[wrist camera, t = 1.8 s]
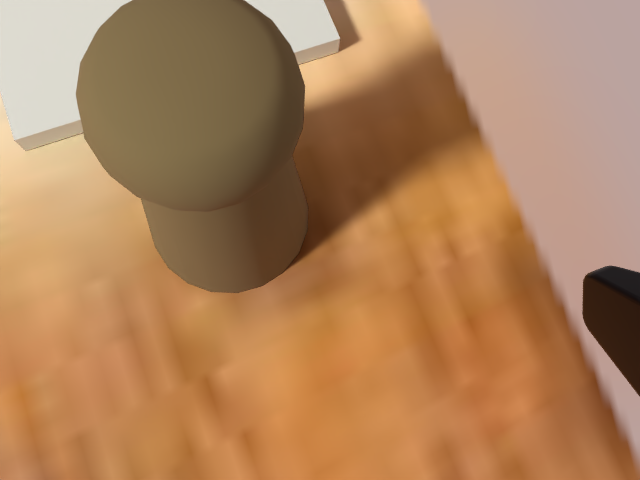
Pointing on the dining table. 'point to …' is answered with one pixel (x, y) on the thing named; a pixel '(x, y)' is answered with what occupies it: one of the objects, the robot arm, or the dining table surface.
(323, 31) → the white board
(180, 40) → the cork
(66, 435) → the dining table surface
